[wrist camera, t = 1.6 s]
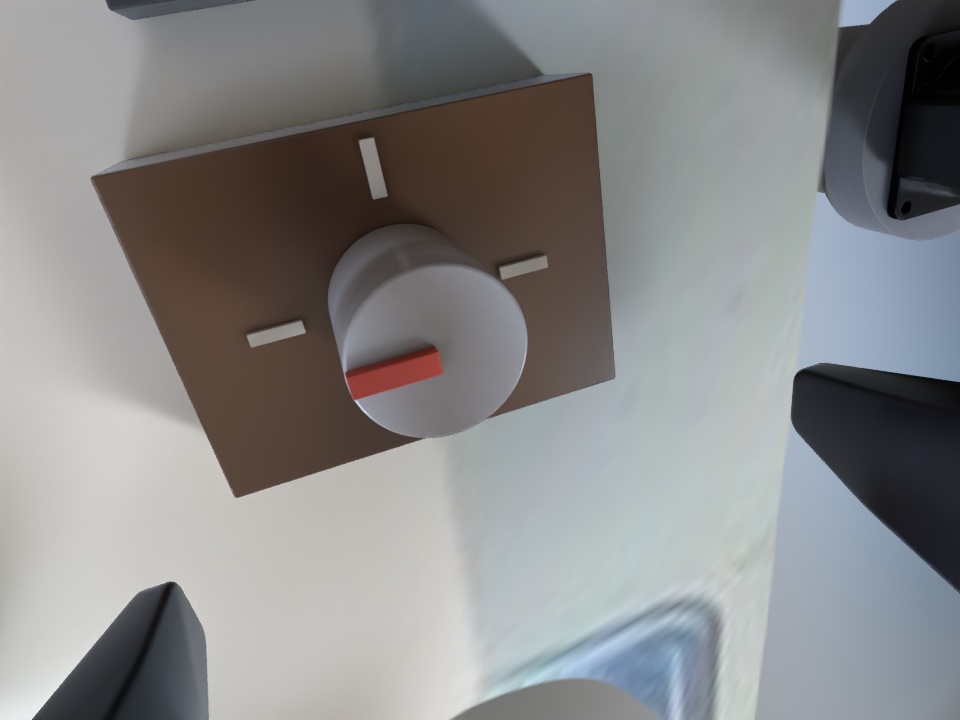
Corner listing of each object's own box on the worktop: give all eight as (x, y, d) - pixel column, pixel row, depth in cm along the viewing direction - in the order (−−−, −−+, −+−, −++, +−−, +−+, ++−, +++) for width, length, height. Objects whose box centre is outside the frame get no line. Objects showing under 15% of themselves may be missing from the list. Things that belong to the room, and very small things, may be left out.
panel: (547, 74, 18) (596, 72, 15) (576, 344, 22) (618, 381, 19) (119, 161, 16) (86, 178, 13) (240, 444, 20) (234, 503, 17)
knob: (461, 206, 16) (520, 245, 12) (486, 344, 17) (544, 415, 14) (307, 244, 15) (318, 297, 11) (350, 383, 17) (372, 470, 13)
